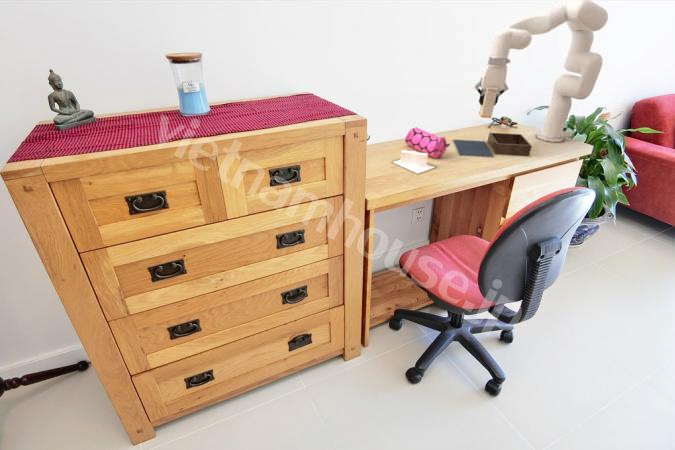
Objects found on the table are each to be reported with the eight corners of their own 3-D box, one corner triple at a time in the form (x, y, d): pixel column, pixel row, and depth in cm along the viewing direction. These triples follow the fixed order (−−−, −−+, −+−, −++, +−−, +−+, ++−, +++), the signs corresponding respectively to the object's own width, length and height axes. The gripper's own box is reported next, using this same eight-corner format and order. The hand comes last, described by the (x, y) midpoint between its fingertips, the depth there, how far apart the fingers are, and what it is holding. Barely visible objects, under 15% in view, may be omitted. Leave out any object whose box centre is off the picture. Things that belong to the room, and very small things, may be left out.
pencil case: (448, 156, 173) (452, 135, 167) (434, 160, 168) (437, 139, 162) (415, 142, 187) (418, 123, 182) (401, 146, 182) (403, 126, 177)
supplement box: (491, 118, 169) (498, 88, 162) (480, 117, 170) (487, 87, 163) (489, 113, 176) (495, 84, 169) (478, 112, 177) (484, 84, 170)
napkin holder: (392, 162, 166) (393, 150, 163) (409, 156, 172) (411, 144, 169) (417, 173, 156) (419, 160, 153) (435, 167, 162) (437, 154, 159)
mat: (483, 142, 190) (483, 141, 190) (492, 156, 173) (493, 156, 173) (453, 140, 191) (454, 139, 191) (460, 155, 174) (460, 154, 174)
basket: (518, 143, 188) (521, 134, 186) (528, 156, 174) (532, 145, 172) (487, 142, 190) (489, 132, 187) (494, 154, 176) (497, 144, 173)
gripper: (515, 61, 163) (504, 103, 173) (475, 59, 165) (467, 101, 175) (520, 64, 157) (508, 107, 167) (478, 62, 158) (470, 105, 168)
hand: (487, 104), depth 171 cm, fingers closed on supplement box, 5 cm apart
